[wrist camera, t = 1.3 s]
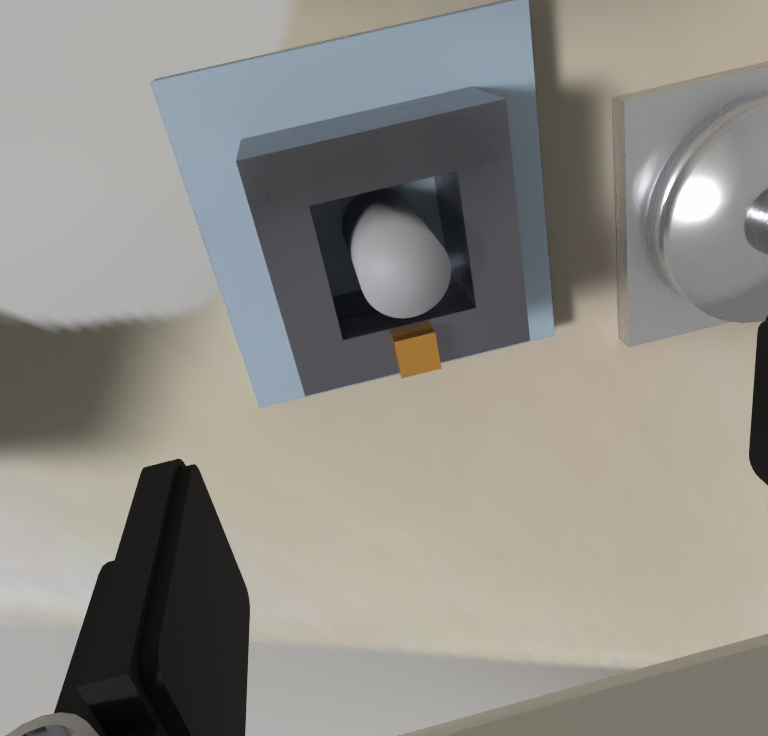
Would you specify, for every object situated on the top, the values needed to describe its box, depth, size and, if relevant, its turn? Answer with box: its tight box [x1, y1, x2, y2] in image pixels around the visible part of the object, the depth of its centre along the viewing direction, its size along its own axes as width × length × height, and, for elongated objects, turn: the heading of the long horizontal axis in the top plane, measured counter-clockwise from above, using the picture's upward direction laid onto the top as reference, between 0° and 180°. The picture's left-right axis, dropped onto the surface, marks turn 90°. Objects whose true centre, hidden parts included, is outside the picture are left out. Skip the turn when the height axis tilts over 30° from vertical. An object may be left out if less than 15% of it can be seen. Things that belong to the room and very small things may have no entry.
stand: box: [150, 0, 555, 408], centre depth 20 cm, size 11×11×6 cm
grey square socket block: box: [236, 87, 530, 396], centre depth 20 cm, size 7×7×4 cm
